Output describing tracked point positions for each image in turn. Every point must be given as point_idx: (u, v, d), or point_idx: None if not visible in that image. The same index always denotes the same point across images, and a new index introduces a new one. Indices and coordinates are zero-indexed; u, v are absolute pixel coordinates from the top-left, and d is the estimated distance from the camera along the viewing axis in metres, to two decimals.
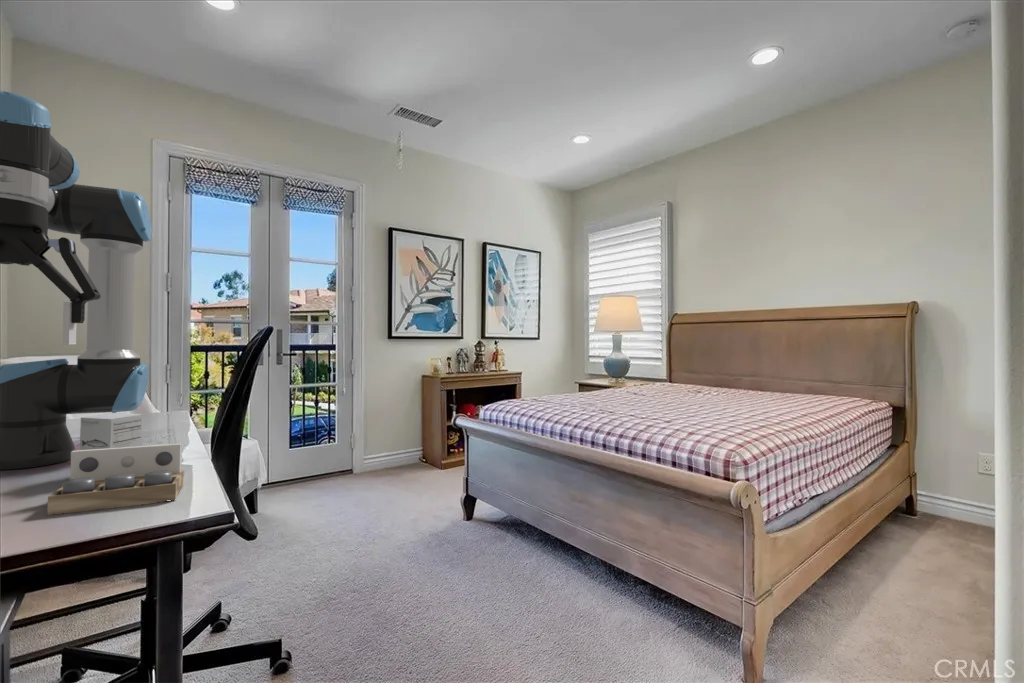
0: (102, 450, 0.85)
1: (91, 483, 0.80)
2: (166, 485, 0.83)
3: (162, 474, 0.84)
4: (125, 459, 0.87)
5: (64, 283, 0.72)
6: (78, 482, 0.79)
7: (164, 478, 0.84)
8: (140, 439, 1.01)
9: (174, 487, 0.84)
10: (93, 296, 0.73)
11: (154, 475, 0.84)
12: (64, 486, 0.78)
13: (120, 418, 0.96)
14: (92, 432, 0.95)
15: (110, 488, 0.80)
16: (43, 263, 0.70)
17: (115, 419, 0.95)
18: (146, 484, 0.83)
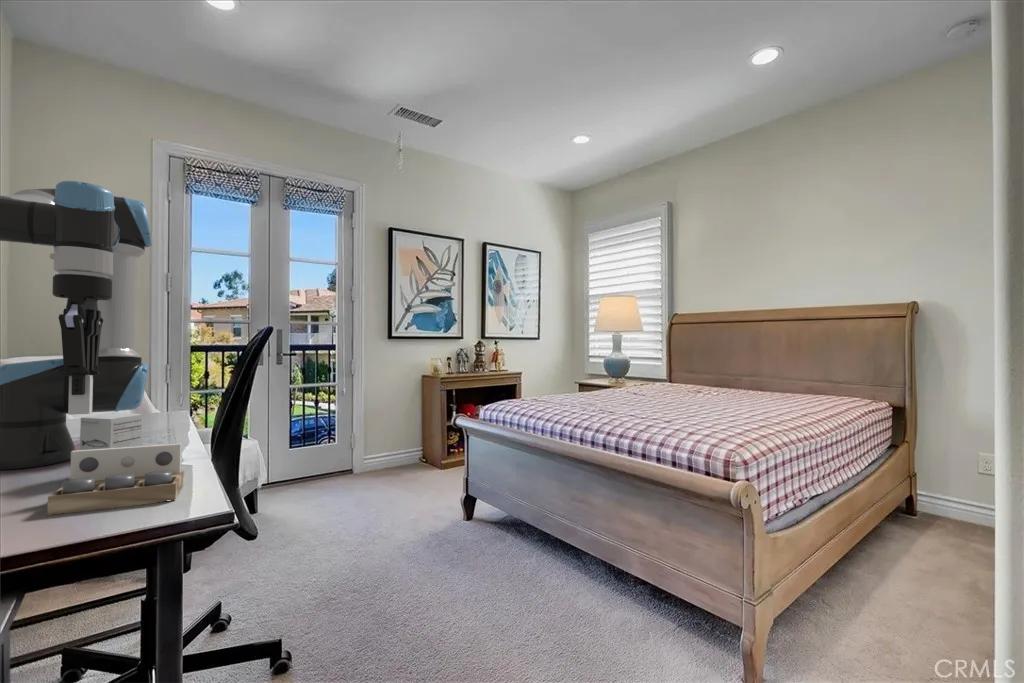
0: (102, 450, 0.85)
1: (91, 483, 0.80)
2: (166, 485, 0.83)
3: (162, 474, 0.84)
4: (125, 459, 0.87)
5: None
6: (78, 482, 0.79)
7: (164, 478, 0.84)
8: (140, 439, 1.01)
9: (174, 487, 0.84)
10: (64, 371, 0.76)
11: (154, 475, 0.84)
12: (64, 486, 0.78)
13: (120, 418, 0.96)
14: (92, 432, 0.95)
15: (110, 488, 0.80)
16: None
17: (115, 419, 0.95)
18: (146, 484, 0.83)
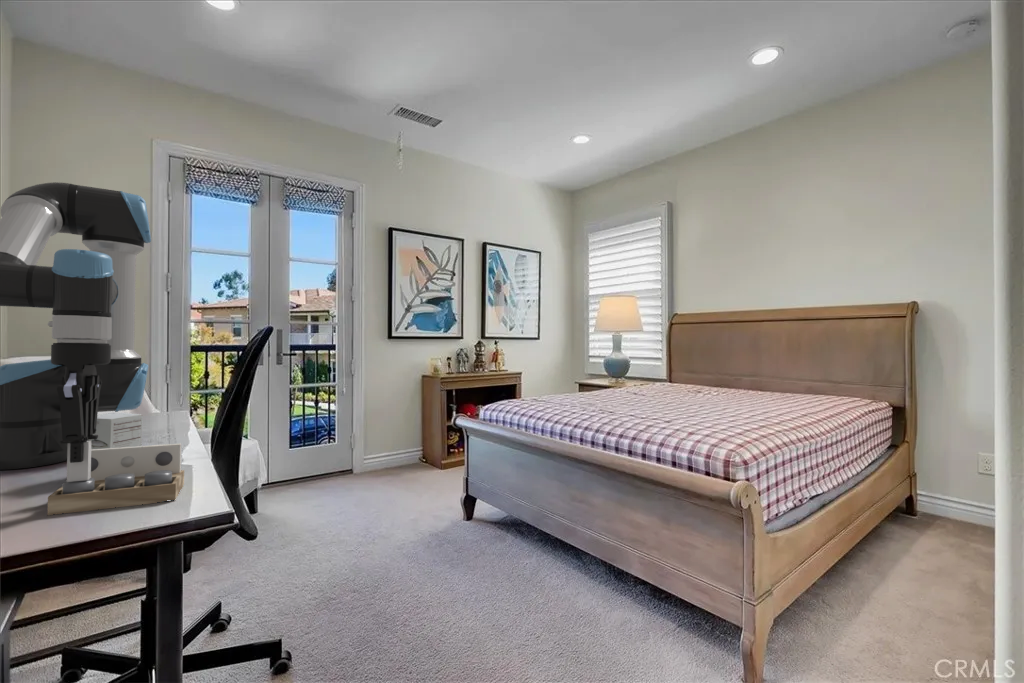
0: (102, 450, 0.85)
1: (91, 483, 0.80)
2: (166, 485, 0.83)
3: (162, 474, 0.84)
4: (125, 459, 0.87)
5: None
6: (78, 483, 0.79)
7: (164, 478, 0.84)
8: (140, 439, 1.01)
9: (174, 487, 0.84)
10: (63, 440, 0.76)
11: (154, 475, 0.84)
12: (64, 487, 0.78)
13: (120, 418, 0.96)
14: None
15: (110, 488, 0.80)
16: None
17: (115, 419, 0.95)
18: (146, 484, 0.83)
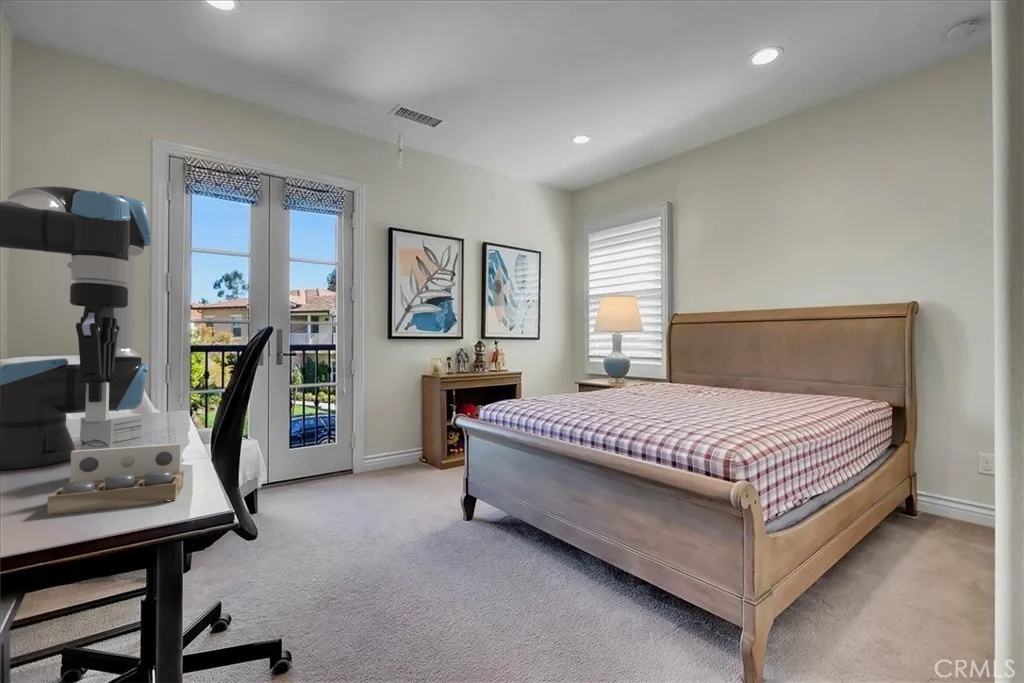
0: (102, 450, 0.85)
1: (91, 487, 0.80)
2: (166, 485, 0.83)
3: (162, 474, 0.84)
4: (125, 459, 0.87)
5: None
6: (78, 486, 0.79)
7: (164, 478, 0.84)
8: (140, 439, 1.01)
9: (174, 487, 0.84)
10: (81, 379, 0.77)
11: (154, 475, 0.84)
12: (64, 490, 0.78)
13: (120, 418, 0.96)
14: (92, 432, 0.95)
15: (110, 488, 0.80)
16: None
17: (115, 419, 0.95)
18: (146, 484, 0.83)
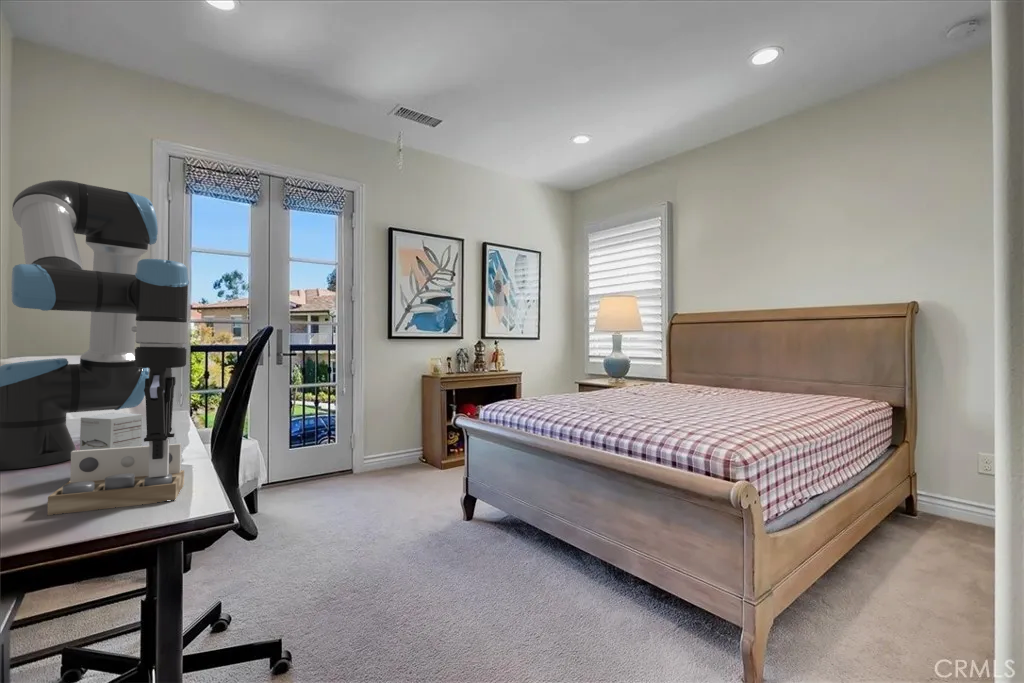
0: (102, 450, 0.85)
1: (91, 487, 0.80)
2: (166, 485, 0.83)
3: (162, 477, 0.84)
4: (125, 459, 0.87)
5: None
6: (78, 486, 0.79)
7: (164, 481, 0.84)
8: (140, 439, 1.01)
9: (174, 487, 0.84)
10: (147, 438, 0.82)
11: (154, 479, 0.84)
12: (64, 490, 0.78)
13: (120, 418, 0.96)
14: (92, 432, 0.95)
15: (110, 488, 0.80)
16: None
17: (115, 419, 0.95)
18: None
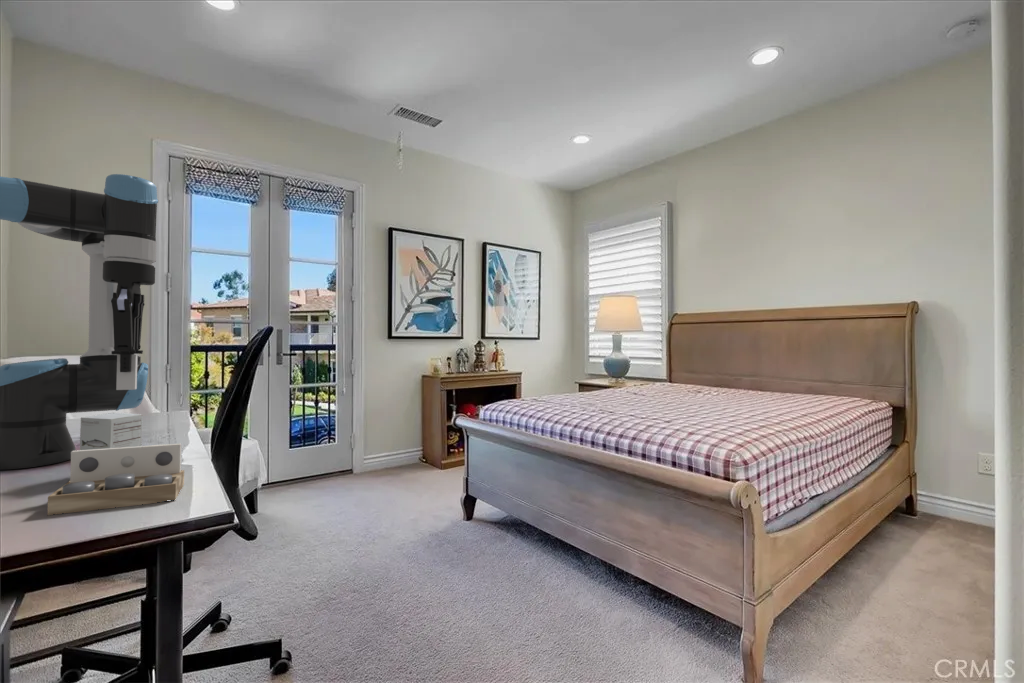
0: (102, 450, 0.85)
1: (91, 487, 0.80)
2: (166, 485, 0.83)
3: (162, 478, 0.84)
4: (125, 459, 0.87)
5: None
6: (78, 486, 0.79)
7: (164, 482, 0.84)
8: (140, 439, 1.01)
9: (174, 487, 0.84)
10: (114, 350, 0.83)
11: (154, 479, 0.84)
12: (64, 490, 0.78)
13: (120, 418, 0.96)
14: (92, 432, 0.95)
15: (110, 488, 0.80)
16: None
17: (115, 419, 0.95)
18: None
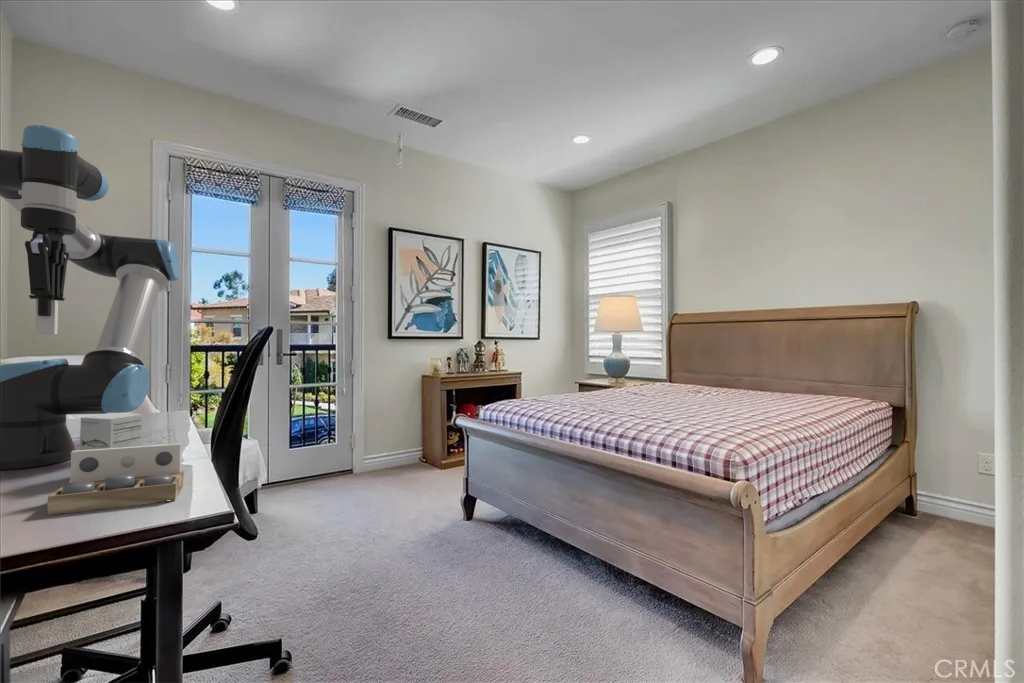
0: (102, 450, 0.85)
1: (91, 487, 0.80)
2: (166, 485, 0.83)
3: (162, 478, 0.84)
4: (125, 459, 0.87)
5: None
6: (78, 486, 0.79)
7: (164, 482, 0.84)
8: (140, 439, 1.01)
9: (174, 487, 0.84)
10: (31, 293, 0.86)
11: (154, 479, 0.84)
12: (64, 490, 0.78)
13: (120, 418, 0.96)
14: (92, 432, 0.95)
15: (110, 488, 0.80)
16: None
17: (115, 419, 0.95)
18: None
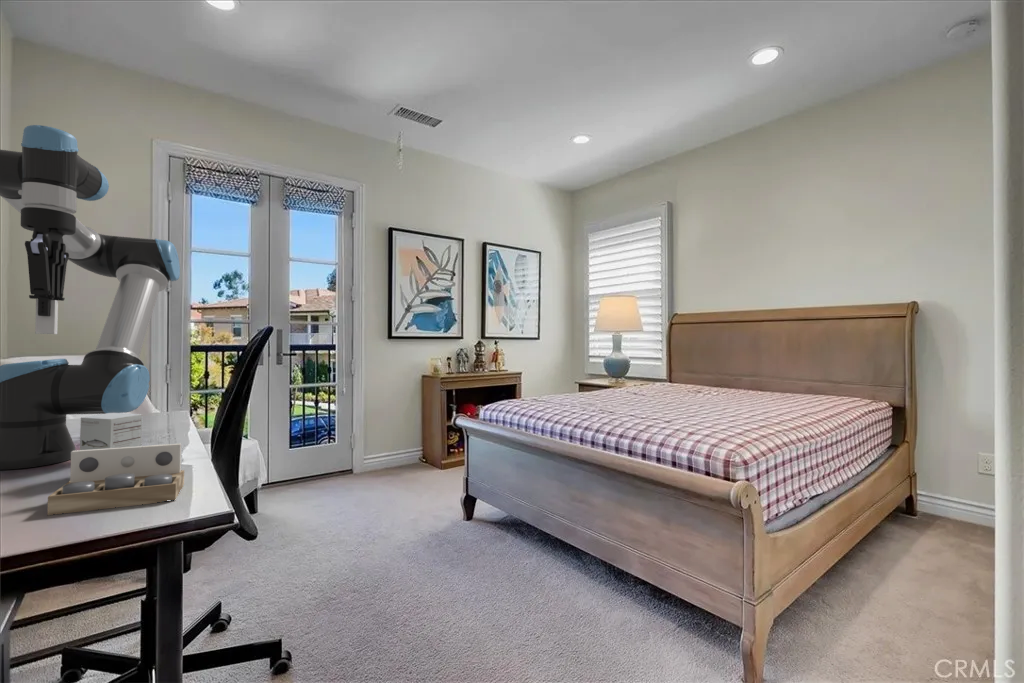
0: (102, 450, 0.85)
1: (91, 487, 0.80)
2: (166, 485, 0.83)
3: (162, 478, 0.84)
4: (125, 459, 0.87)
5: None
6: (78, 486, 0.79)
7: (164, 482, 0.84)
8: (140, 439, 1.01)
9: (174, 487, 0.84)
10: (31, 293, 0.86)
11: (154, 479, 0.84)
12: (64, 490, 0.78)
13: (120, 418, 0.96)
14: (92, 432, 0.95)
15: (110, 488, 0.80)
16: None
17: (115, 419, 0.95)
18: None
